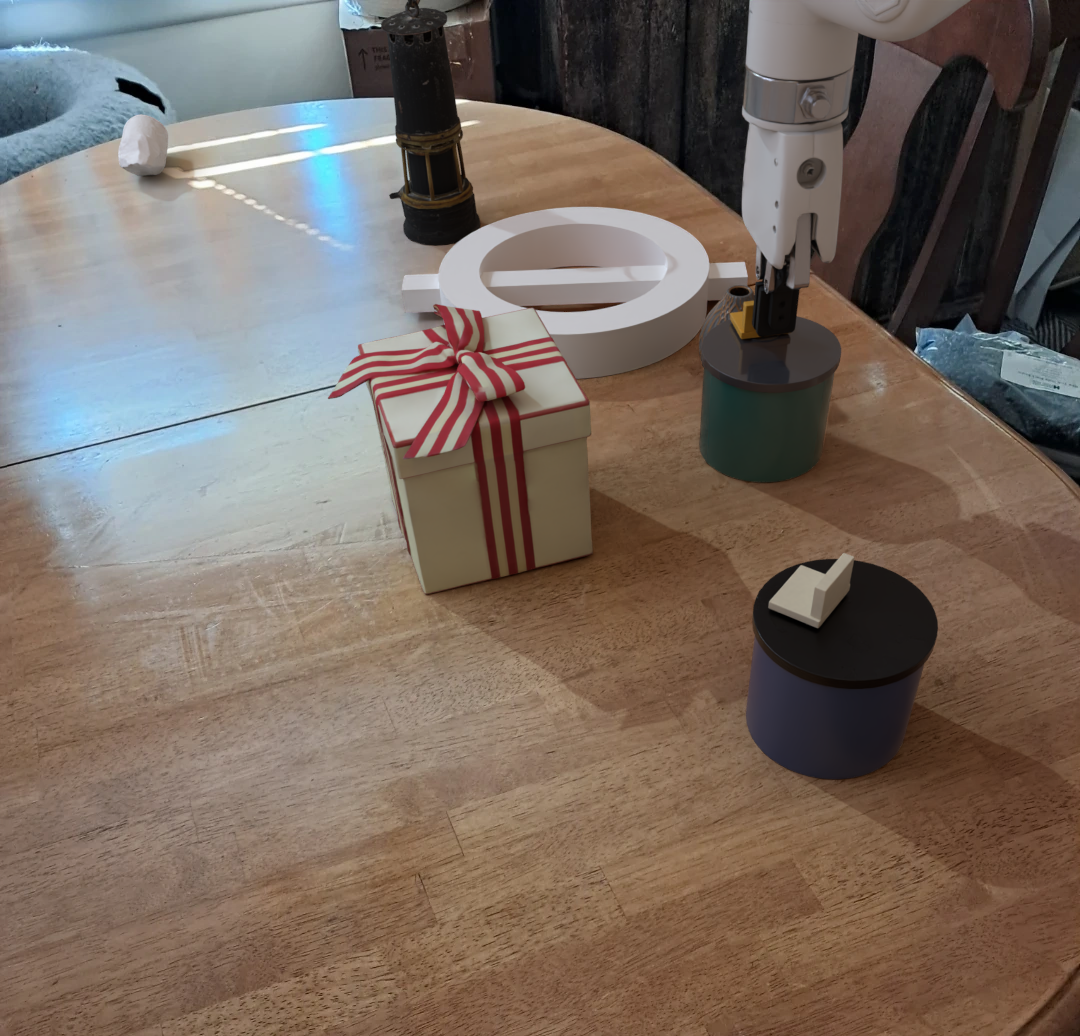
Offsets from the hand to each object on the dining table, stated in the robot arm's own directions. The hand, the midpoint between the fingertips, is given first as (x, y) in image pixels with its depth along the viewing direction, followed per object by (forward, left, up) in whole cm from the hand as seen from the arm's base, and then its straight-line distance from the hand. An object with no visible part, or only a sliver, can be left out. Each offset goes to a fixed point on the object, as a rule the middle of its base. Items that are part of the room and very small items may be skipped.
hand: (773, 329), depth 95 cm
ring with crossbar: (+29, -12, -12) cm, 34 cm away
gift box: (+14, +24, -12) cm, 30 cm away
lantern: (+54, -20, -12) cm, 59 cm away
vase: (+8, -9, -12) cm, 17 cm away
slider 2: (-17, +27, -1) cm, 32 cm away
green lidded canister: (0, 0, -12) cm, 12 cm away
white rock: (+99, -13, -12) cm, 101 cm away
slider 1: (+2, -2, -2) cm, 4 cm away
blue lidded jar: (-20, +27, -12) cm, 35 cm away
